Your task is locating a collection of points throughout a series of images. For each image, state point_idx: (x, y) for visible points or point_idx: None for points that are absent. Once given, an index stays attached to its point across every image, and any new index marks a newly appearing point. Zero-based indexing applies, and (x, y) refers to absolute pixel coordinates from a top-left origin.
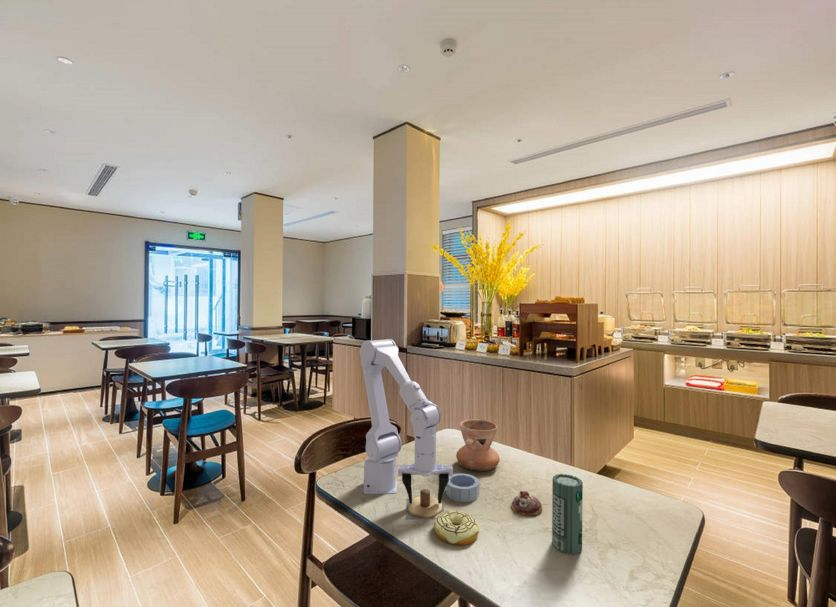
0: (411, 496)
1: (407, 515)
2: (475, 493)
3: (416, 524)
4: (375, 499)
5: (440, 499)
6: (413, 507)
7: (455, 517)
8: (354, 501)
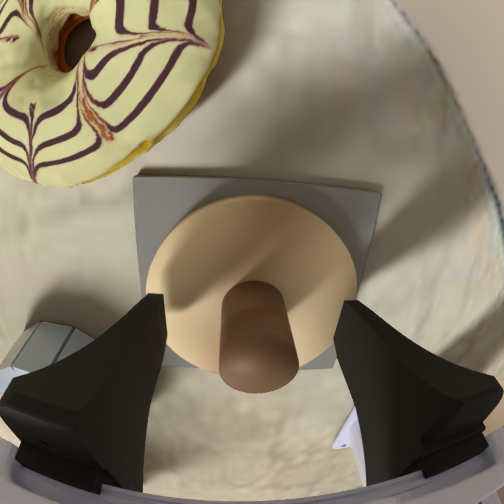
0: (368, 324)
1: (366, 228)
2: (9, 351)
3: (323, 145)
4: (439, 354)
5: (141, 305)
6: (331, 280)
7: (52, 85)
8: (491, 334)
